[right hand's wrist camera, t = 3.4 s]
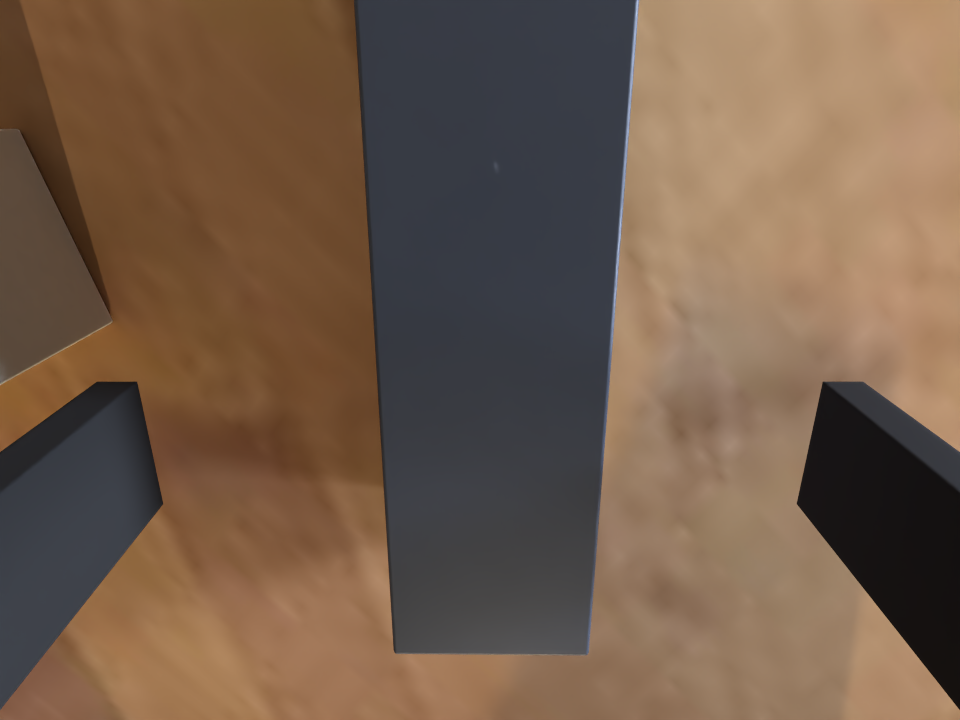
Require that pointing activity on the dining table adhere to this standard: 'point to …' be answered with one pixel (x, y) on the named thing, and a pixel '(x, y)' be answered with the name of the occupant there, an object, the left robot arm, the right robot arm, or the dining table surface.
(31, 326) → the cream block
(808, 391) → the dining table surface
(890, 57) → the dining table surface
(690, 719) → the dining table surface
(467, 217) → the bar
